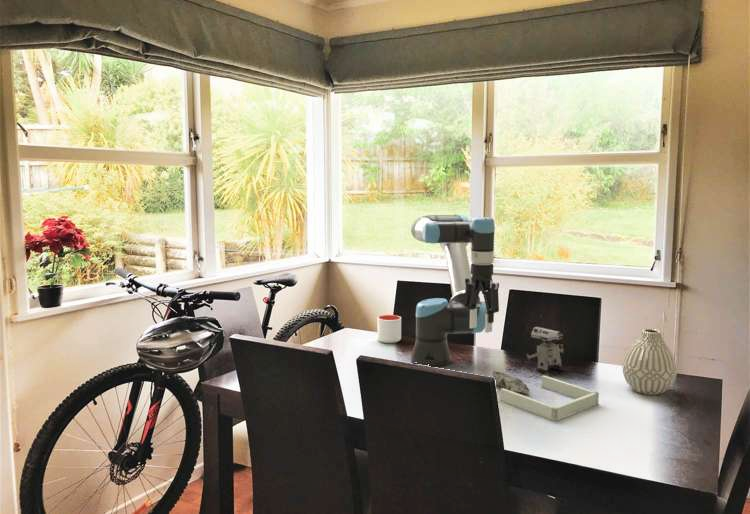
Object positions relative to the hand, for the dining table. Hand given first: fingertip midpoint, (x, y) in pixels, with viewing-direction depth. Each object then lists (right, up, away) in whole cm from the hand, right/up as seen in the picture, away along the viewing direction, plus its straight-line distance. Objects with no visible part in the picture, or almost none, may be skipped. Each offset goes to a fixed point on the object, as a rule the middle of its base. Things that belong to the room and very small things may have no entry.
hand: (480, 329), depth 207 cm
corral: (+17, -20, -21) cm, 34 cm away
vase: (+52, -19, -11) cm, 57 cm away
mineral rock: (+8, -19, -9) cm, 22 cm away
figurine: (+25, -16, +11) cm, 31 cm away
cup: (-30, -11, +49) cm, 59 cm away
